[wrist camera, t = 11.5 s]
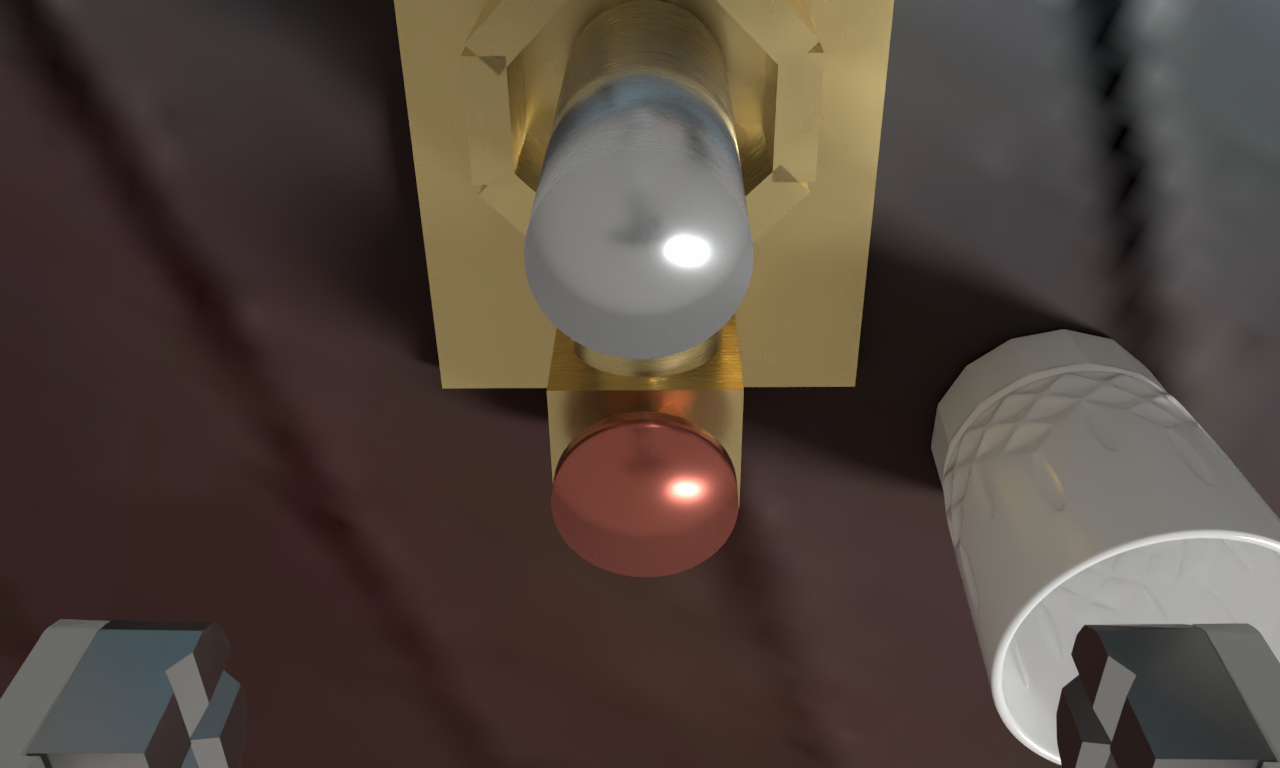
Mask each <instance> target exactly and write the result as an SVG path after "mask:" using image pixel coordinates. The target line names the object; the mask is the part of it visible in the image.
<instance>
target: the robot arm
mask: <svg viewBox="0 0 1280 768" xmlns="http://www.w3.org/2000/svg"><path fill="white" fill-rule="evenodd" d="M230 653H231V649H230V646H229V643H228V640H227V637H226V634H225V631H224V628H223V626H221V625H218V624H215V623H211V622H175V621H139V620H111V621H98V620H67V619H60V620H59V621H57V622H56V623H54V624H53V625H51V626H50V627H48V628H47V629H46V630H45V631H44V632H43V634H42V635H41V637H40V638H39V640H38V641H37V643H36V645H35V646H34V648H33V649H32V651H31V652H30V654H29V655H28V657H27V659H26V660H25V662H24V663H23V665H22V666H21V668H20V669H19V671H18V672H17V674H16V676H15V677H14V679H13V680H12V682H11V683H10V685H9V686H8V688H7V689H6V691H5V693H4V694H3V696H2V697H1V699H0V768H239V765H240V762H241V760H242V757H243V750H244V743H245V737H246V730H247V717H246V703H245V699H244V695H243V691H242V688H241V685H240V684H239V683H238V682H237V681H236V680H234V679H233V678H232V677H231V676H229V675H228V674H227V673H226V672H225V671H223V670H224V668H225V665H226V663H227V660H228V658H229V656H230ZM1071 656H1072V658H1073V661H1074V663H1075V666H1076V668H1077V670H1078V673H1079V675H1078V676H1077V677H1075V678H1074V679H1073V680H1072V681H1070V682H1069V683H1068V684H1067V685H1065V686H1064V687H1063V688H1062V690H1061V695H1060V700H1059V704H1058V709H1057V713H1056V722H1057V745H1058V750H1059V755H1060V760H1061V765H1062V768H1280V663H1279V661H1278V660H1277V658H1276V656H1275V655H1274V653H1273V652H1272V650H1271V649H1270V647H1269V645H1268V644H1267V642H1266V641H1265V639H1264V638H1263V636H1262V634H1261V633H1260V631H1258V630H1257V629H1256V628H1254V627H1253V626H1251V625H1250V624H1249V623H1228V624H1192V625H1187V624H1114V625H1084V626H1083V627H1082V629H1081V630H1080V631H1079V633H1078V634H1077V635H1076V639H1075V642H1074V646H1073V649H1072V653H1071Z"/></svg>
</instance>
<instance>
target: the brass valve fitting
mask: <svg viewBox="0 0 1280 768" xmlns="http://www.w3.org/2000/svg"><path fill="white" fill-rule="evenodd" d="M628 1H633V0H394V6H395V14H396V22H397V30H398V38H399V46H400V54H401V62H402V70H403V78H404V86H405V94H406V102H407V110H408V118H409V126H410V134H411V142H412V150H413V158H414V166H415V174H416V182H417V189H418V197H419V205H420V213H421V221H422V229H423V237H424V245H425V253H426V261H427V269H428V277H429V285H430V293H431V301H432V309H433V317H434V325H435V333H436V341H437V349H438V357H439V365H440V373H441V381H442V388H547V404H548V418H549V433H550V447H551V462H552V477H553V489H552V500H551V507H552V513H553V518H554V521H555V524H556V527H557V529H558V531H559V533H560V534H561V536H562V537H563V539H564V540H565V542H566V543H567V544H568V545H569V546H570V547H571V548H572V549H573V550H574V551H575V552H576V553H577V554H578V555H580V556H581V557H582V558H584V559H585V560H587V561H588V562H590V563H591V564H593V565H595V566H597V567H599V568H602V569H604V570H607V571H610V572H613V573H617V574H621V575H626V576H633V577H659V576H666V575H671V574H675V573H679V572H682V571H685V570H687V569H690V568H692V567H694V566H696V565H698V564H700V563H702V562H703V561H705V560H706V559H708V558H709V557H711V556H712V555H713V554H714V553H715V552H716V551H718V550H719V548H720V547H721V546H722V545H723V544H724V543H725V542H726V540H727V539H728V537H729V536H730V534H731V532H732V530H733V528H734V526H735V523H736V519H737V516H738V508H739V498H740V473H741V448H742V423H743V398H744V387H855V381H856V372H857V362H858V352H859V342H860V332H861V322H862V312H863V302H864V293H865V283H866V273H867V263H868V253H869V243H870V233H871V223H872V214H873V204H874V194H875V184H876V174H877V164H878V154H879V144H880V135H881V125H882V115H883V105H884V95H885V85H886V75H887V65H888V56H889V46H890V36H891V26H892V16H893V6H894V0H658V1H663V2H668V3H671V4H674V5H677V6H679V7H681V8H683V9H685V10H687V11H688V12H690V13H691V14H693V15H694V16H696V17H697V18H698V19H699V20H700V21H701V22H702V23H704V25H705V26H706V27H707V28H708V29H709V30H710V32H711V33H712V35H713V36H714V38H715V39H716V41H717V43H718V45H719V47H720V49H721V52H722V55H723V58H724V62H725V68H726V74H727V81H728V87H729V94H730V100H731V107H732V113H733V120H734V126H735V133H736V139H737V146H738V152H739V159H740V165H741V172H742V178H743V185H744V191H745V198H746V204H747V211H748V217H749V224H750V230H751V237H752V243H753V269H752V276H751V279H750V283H749V287H748V289H747V292H746V294H745V297H744V299H743V301H742V302H741V304H740V306H739V307H738V309H737V311H736V312H735V313H734V315H733V316H732V317H731V318H730V320H729V321H728V322H727V323H726V324H725V325H724V326H723V327H722V328H721V329H720V330H719V331H718V332H716V333H715V334H714V335H712V336H711V337H710V338H708V339H707V340H705V341H704V342H702V343H700V344H698V345H697V346H695V347H693V348H690V349H688V350H686V351H683V352H680V353H677V354H674V355H670V356H666V357H660V358H653V359H626V358H620V357H614V356H610V355H606V354H602V353H599V352H596V351H594V350H592V349H589V348H587V347H585V346H583V345H581V344H579V343H577V342H576V341H574V340H572V339H571V338H570V337H568V336H567V335H565V334H564V333H563V332H561V331H560V330H559V329H558V328H557V327H556V326H555V325H554V324H553V323H552V322H551V321H550V320H549V319H548V317H547V316H546V315H545V314H544V313H543V311H542V310H541V308H540V306H539V305H538V303H537V302H536V300H535V298H534V296H533V293H532V291H531V289H530V286H529V283H528V279H527V276H526V270H525V264H524V246H525V239H526V233H527V229H528V225H529V221H530V217H531V212H532V208H533V204H534V200H535V196H536V191H537V187H538V183H539V179H540V175H541V170H542V166H543V162H544V158H545V154H546V149H547V145H548V141H549V137H550V133H551V128H552V124H553V120H554V116H555V112H556V107H557V103H558V99H559V95H560V91H561V86H562V82H563V78H564V74H565V70H566V65H567V61H568V58H569V54H570V51H571V49H572V47H573V44H574V42H575V41H576V39H577V37H578V36H579V34H580V33H581V31H582V30H583V29H584V28H585V26H586V25H587V24H588V23H589V22H590V21H591V20H593V19H594V18H595V17H596V16H598V15H599V14H600V13H602V12H603V11H605V10H607V9H609V8H611V7H613V6H615V5H618V4H621V3H624V2H628Z"/></svg>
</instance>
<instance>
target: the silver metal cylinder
mask: <svg viewBox="0 0 1280 768" xmlns="http://www.w3.org/2000/svg"><path fill="white" fill-rule="evenodd" d="M524 264H525V270H526V276H527V279H528V283H529V286H530V289H531V291H532V293H533V296H534V298H535V300H536V302H537V303H538V305H539V306H540V308H541V310H542V311H543V313H544V314H545V315H546V316H547V317H548V319H549V320H550V321H551V322H552V323H553V324H554V325H555V326H556V327H557V328H558V329H559V330H560V331H561V332H563V333H564V334H565V335H567V336H568V337H570V338H571V339H572V340H574V341H576V342H577V343H579V344H581V345H583V346H585V347H587V348H589V349H592V350H594V351H596V352H599V353H602V354H606V355H610V356H614V357H620V358H626V359H653V358H660V357H666V356H670V355H674V354H677V353H680V352H683V351H686V350H688V349H690V348H693V347H695V346H697V345H698V344H700V343H702V342H704V341H705V340H707V339H708V338H710V337H711V336H712V335H714V334H715V333H716V332H718V331H719V330H720V329H721V328H722V327H723V326H724V325H725V324H726V323H727V322H728V321H729V320H730V318H731V317H732V316H733V315H734V313H735V312H736V311H737V309H738V307H739V306H740V304H741V302H742V301H743V299H744V297H745V294H746V292H747V289H748V287H749V283H750V279H751V276H752V269H753V243H752V237H751V230H750V224H749V217H748V211H747V204H746V198H745V191H744V185H743V178H742V172H741V165H740V159H739V152H738V146H737V139H736V133H735V126H734V120H733V113H732V107H731V100H730V94H729V87H728V81H727V74H726V68H725V62H724V58H723V55H722V52H721V49H720V47H719V45H718V43H717V41H716V39H715V38H714V36H713V35H712V33H711V32H710V30H709V29H708V28H707V27H706V26H705V25H704V23H702V22H701V21H700V20H699V19H698V18H697V17H696V16H694V15H693V14H691V13H690V12H688V11H687V10H685V9H683V8H681V7H679V6H677V5H674V4H671V3H668V2H663V1H658V0H633V1H628V2H624V3H621V4H618V5H615V6H613V7H611V8H609V9H607V10H605V11H603V12H602V13H600V14H599V15H598V16H596V17H595V18H594V19H593V20H591V21H590V22H589V23H588V24H587V25H586V26H585V28H584V29H583V30H582V31H581V33H580V34H579V36H578V37H577V39H576V41H575V42H574V44H573V47H572V49H571V51H570V54H569V58H568V61H567V65H566V70H565V74H564V78H563V82H562V86H561V91H560V95H559V99H558V103H557V107H556V112H555V116H554V120H553V124H552V128H551V133H550V137H549V141H548V145H547V149H546V154H545V158H544V162H543V166H542V170H541V175H540V179H539V183H538V187H537V191H536V196H535V200H534V204H533V208H532V212H531V217H530V221H529V225H528V229H527V233H526V239H525V246H524Z"/></svg>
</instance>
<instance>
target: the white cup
mask: <svg viewBox="0 0 1280 768" xmlns="http://www.w3.org/2000/svg"><path fill="white" fill-rule="evenodd" d="M931 450H932V453H933V457H934V460H935V464H936V467H937V471H938V474H939V478H940V481H941V484H942V488H943V492H944V501H945V510H946V518H947V522H948V526H949V531H950V535H951V539H952V542H953V546H954V550H955V557H956V561H957V565H958V569H959V573H960V576H961V580H962V584H963V587H964V591H965V595H966V598H967V602H968V606H969V609H970V613H971V617H972V620H973V624H974V628H975V631H976V635H977V639H978V643H979V646H980V650H981V654H982V658H983V662H984V665H985V669H986V673H987V677H988V681H989V684H990V688H991V692H992V696H993V700H994V703H995V706H996V709H997V711H998V713H999V715H1000V717H1001V719H1002V721H1003V722H1004V724H1005V725H1006V727H1007V728H1008V729H1009V730H1010V732H1011V733H1012V734H1013V735H1014V736H1015V737H1016V738H1017V739H1018V740H1019V741H1020V742H1021V743H1022V744H1024V745H1025V746H1026V747H1028V748H1029V749H1030V750H1032V751H1033V752H1035V753H1037V754H1038V755H1040V756H1042V757H1044V758H1046V759H1048V760H1050V761H1052V762H1054V763H1057V764H1059V765H1061V760H1060V755H1059V750H1058V745H1057V722H1056V713H1057V709H1058V704H1059V700H1060V695H1061V690H1062V688H1063V687H1064V686H1065V685H1067V684H1068V683H1069V682H1070V681H1072V680H1073V679H1074V678H1075V677H1077V676H1078V675H1079V673H1078V670H1077V668H1076V666H1075V663H1074V661H1073V658H1072V656H1071V653H1072V649H1073V646H1074V642H1075V639H1076V635H1077V634H1078V633H1079V631H1080V630H1081V629H1082V627H1083V626H1084V625H1114V624H1187V625H1192V624H1228V623H1249V624H1250V625H1251V626H1253V627H1254V628H1256V629H1257V630H1258V631H1260V633H1261V634H1262V636H1263V638H1264V639H1265V641H1266V642H1267V644H1268V645H1269V647H1270V649H1271V650H1272V652H1273V653H1274V655H1275V656H1276V658H1277V660H1278V661H1279V663H1280V519H1279V518H1278V516H1277V515H1276V514H1275V513H1274V512H1273V510H1272V509H1271V508H1270V507H1269V506H1268V504H1267V503H1266V502H1265V501H1264V500H1263V498H1262V497H1261V496H1260V495H1259V493H1258V492H1257V491H1256V490H1255V489H1254V487H1253V486H1252V485H1251V484H1250V483H1249V481H1248V480H1247V479H1246V478H1245V477H1244V475H1243V474H1242V473H1241V472H1240V470H1239V469H1238V468H1237V467H1236V466H1235V464H1234V463H1233V462H1232V461H1231V460H1230V458H1229V457H1228V456H1227V455H1226V454H1225V453H1224V451H1223V450H1222V449H1221V448H1220V447H1219V446H1218V444H1217V443H1216V442H1215V441H1214V440H1213V439H1212V438H1211V437H1210V436H1209V435H1208V434H1207V433H1206V432H1205V430H1204V429H1203V428H1202V427H1201V426H1200V425H1199V424H1198V423H1197V422H1196V421H1195V419H1194V418H1193V417H1192V416H1191V415H1190V414H1189V412H1188V411H1187V410H1186V409H1185V408H1184V407H1183V406H1182V405H1181V404H1180V403H1179V402H1178V401H1177V400H1176V399H1175V398H1174V397H1173V396H1172V395H1170V394H1168V393H1167V392H1166V390H1165V389H1164V388H1163V387H1162V386H1161V384H1160V383H1159V382H1158V381H1157V379H1156V378H1155V377H1154V376H1153V374H1152V373H1151V372H1150V371H1149V370H1148V368H1147V367H1145V366H1144V365H1143V364H1142V363H1141V362H1139V361H1138V360H1137V359H1136V358H1135V357H1133V356H1132V355H1131V354H1130V353H1129V352H1127V351H1126V350H1125V349H1124V348H1123V347H1121V346H1120V345H1119V344H1118V343H1117V342H1115V341H1114V340H1113V339H1109V338H1104V337H1099V336H1095V335H1090V334H1085V333H1081V332H1076V331H1071V330H1066V329H1061V330H1055V331H1050V332H1045V333H1039V334H1034V335H1029V336H1023V337H1018V338H1013V339H1010V340H1008V341H1006V342H1005V343H1003V344H1002V345H1000V346H998V347H997V348H995V349H993V350H992V351H990V352H988V353H987V354H985V355H983V356H982V357H980V358H978V359H977V360H975V361H974V362H972V363H970V364H969V365H967V366H966V367H965V368H964V369H963V371H962V372H961V373H960V375H959V376H958V378H957V379H956V380H955V382H954V383H953V384H952V386H951V387H950V388H949V390H948V391H947V392H946V394H945V395H944V397H943V398H942V399H941V401H940V402H939V403H938V405H937V411H936V417H935V424H934V430H933V436H932V442H931Z"/></svg>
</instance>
